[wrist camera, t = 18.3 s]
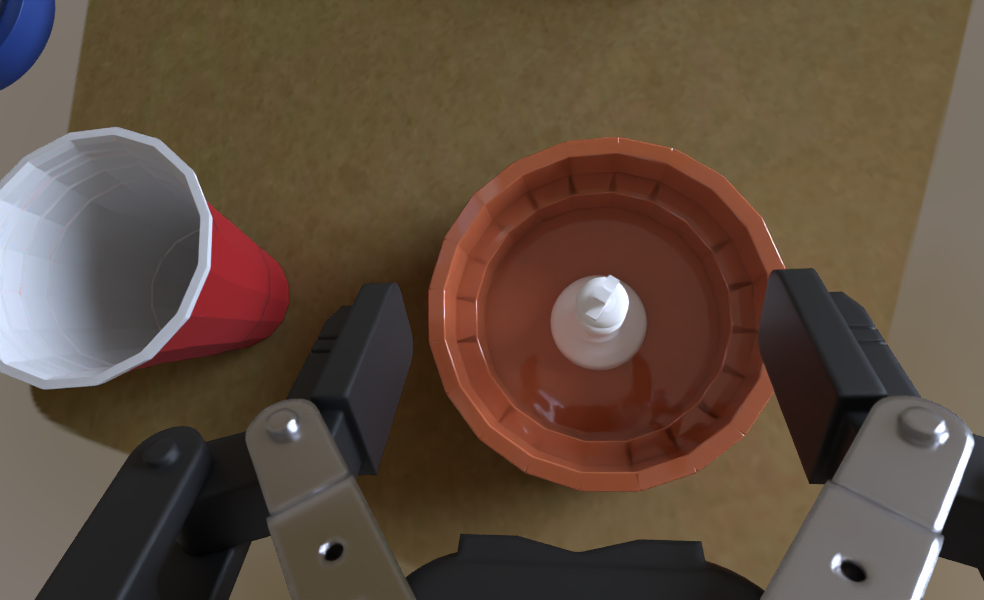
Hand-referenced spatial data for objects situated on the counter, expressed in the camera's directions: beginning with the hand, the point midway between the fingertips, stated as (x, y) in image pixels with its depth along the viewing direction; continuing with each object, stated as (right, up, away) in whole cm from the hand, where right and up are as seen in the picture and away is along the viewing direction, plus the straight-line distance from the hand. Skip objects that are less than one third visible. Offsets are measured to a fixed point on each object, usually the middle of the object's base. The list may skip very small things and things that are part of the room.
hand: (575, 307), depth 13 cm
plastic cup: (-16, 0, +22) cm, 27 cm away
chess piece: (+4, -1, +18) cm, 18 cm away
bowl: (+4, -1, +18) cm, 18 cm away
